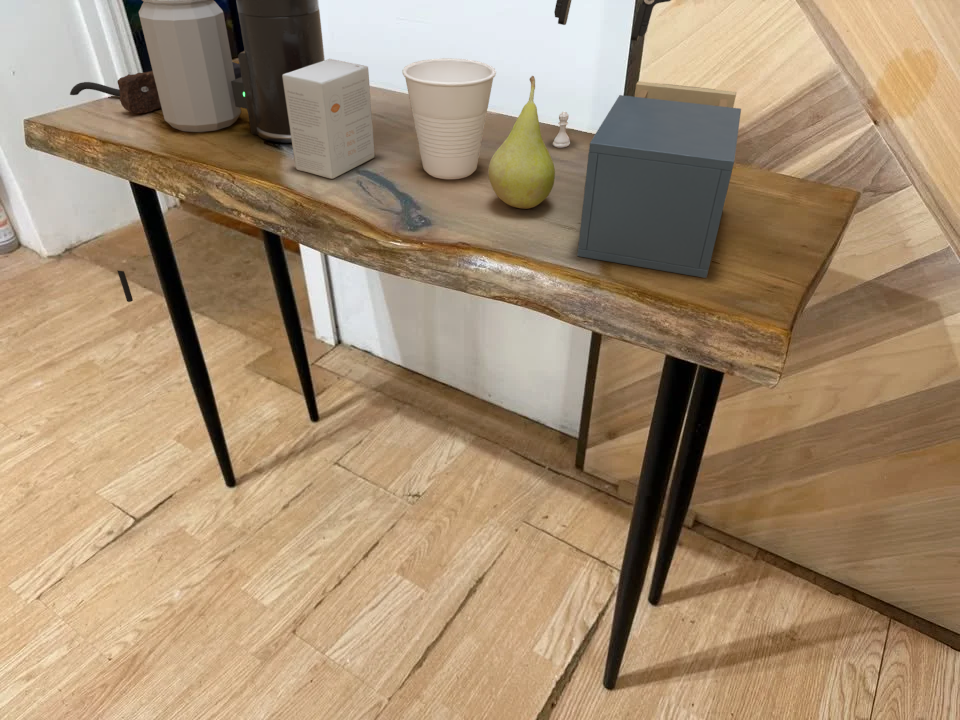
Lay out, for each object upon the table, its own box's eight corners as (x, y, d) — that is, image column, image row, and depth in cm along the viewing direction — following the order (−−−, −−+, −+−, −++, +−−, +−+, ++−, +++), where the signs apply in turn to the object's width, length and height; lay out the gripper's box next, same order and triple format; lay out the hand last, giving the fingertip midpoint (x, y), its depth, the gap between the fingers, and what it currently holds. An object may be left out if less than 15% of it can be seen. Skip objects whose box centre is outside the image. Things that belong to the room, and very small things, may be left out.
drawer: (632, 146, 86) (643, 71, 81) (720, 158, 84) (738, 80, 78) (605, 204, 72) (616, 117, 67) (710, 220, 70) (730, 131, 65)
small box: (339, 149, 86) (329, 57, 80) (376, 158, 84) (369, 64, 78) (293, 169, 81) (280, 73, 74) (332, 180, 78) (321, 81, 72)
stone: (133, 118, 94) (122, 78, 91) (119, 113, 95) (108, 74, 92) (181, 104, 99) (173, 66, 96) (168, 100, 101) (159, 62, 98)
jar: (180, 139, 88) (142, -25, 77) (153, 119, 94) (114, -36, 83) (255, 124, 93) (228, -31, 82) (225, 106, 99) (196, -42, 88)
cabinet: (606, 195, 76) (619, 94, 70) (717, 212, 74) (741, 108, 67) (577, 256, 65) (589, 142, 59) (706, 278, 62) (734, 161, 56)
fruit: (483, 215, 72) (486, 94, 65) (494, 186, 78) (497, 72, 71) (549, 221, 71) (559, 98, 64) (555, 191, 77) (564, 76, 70)
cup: (483, 191, 77) (486, 86, 70) (395, 182, 78) (390, 78, 72) (500, 158, 85) (503, 61, 78) (419, 151, 86) (416, 55, 80)
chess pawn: (562, 149, 88) (565, 116, 85) (548, 145, 89) (551, 113, 86) (573, 143, 89) (576, 111, 87) (560, 140, 90) (563, 108, 88)
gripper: (566, -156, 71) (531, 20, 79) (707, -131, 69) (657, 47, 77) (577, -143, 78) (543, 18, 86) (706, -119, 76) (660, 44, 84)
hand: (598, 32), depth 81 cm, fingers open, 8 cm apart
